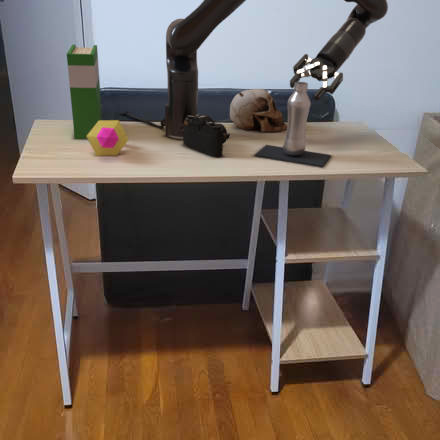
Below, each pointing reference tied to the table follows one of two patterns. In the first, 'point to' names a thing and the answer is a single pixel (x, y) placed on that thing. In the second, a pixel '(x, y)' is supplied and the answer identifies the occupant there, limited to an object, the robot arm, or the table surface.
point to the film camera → (204, 135)
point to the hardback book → (84, 89)
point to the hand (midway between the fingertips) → (302, 92)
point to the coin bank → (256, 111)
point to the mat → (293, 156)
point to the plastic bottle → (297, 120)
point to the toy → (107, 137)
